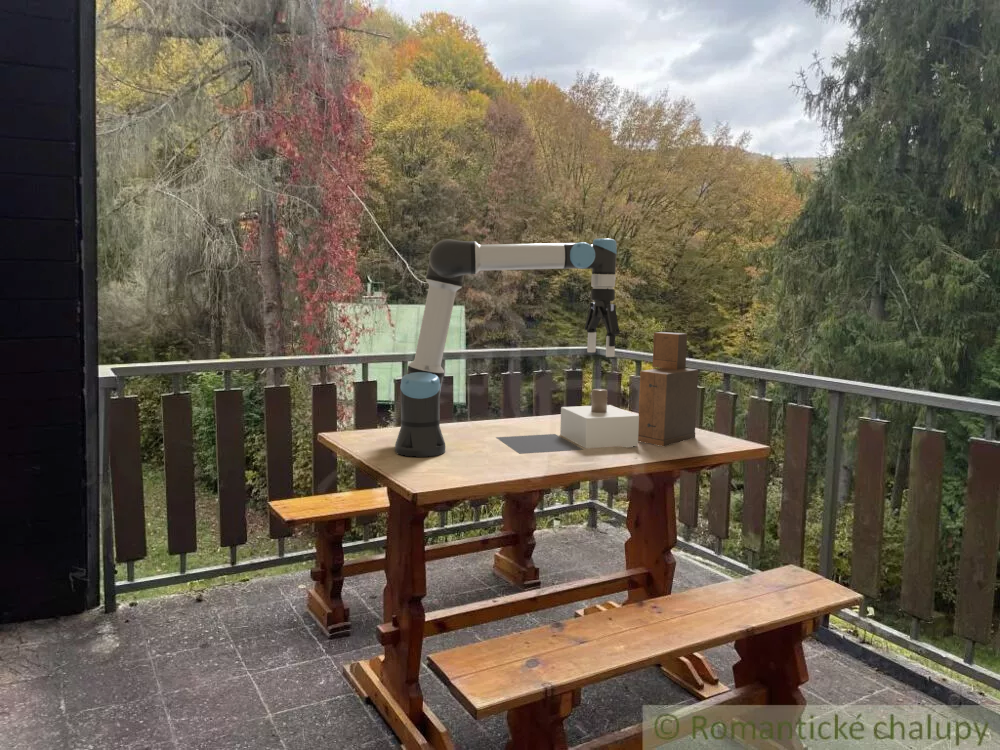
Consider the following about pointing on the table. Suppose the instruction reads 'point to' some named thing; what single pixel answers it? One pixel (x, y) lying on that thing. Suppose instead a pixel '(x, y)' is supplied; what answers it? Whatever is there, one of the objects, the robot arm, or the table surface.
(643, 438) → the wooden block stack
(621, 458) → the table surface
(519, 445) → the mat
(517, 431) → the table surface
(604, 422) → the cover
